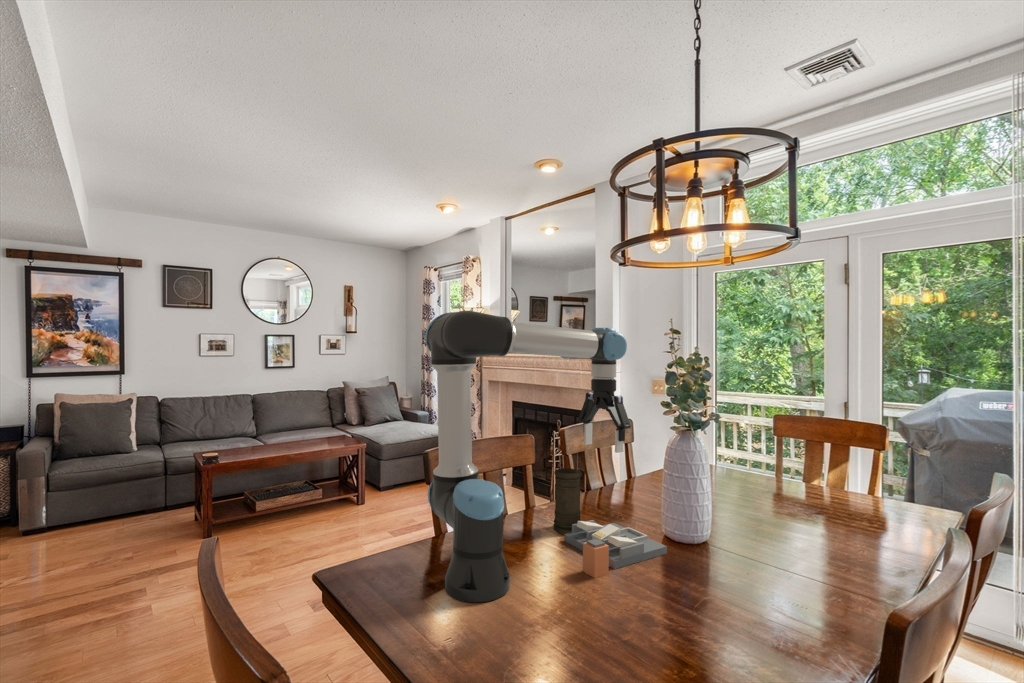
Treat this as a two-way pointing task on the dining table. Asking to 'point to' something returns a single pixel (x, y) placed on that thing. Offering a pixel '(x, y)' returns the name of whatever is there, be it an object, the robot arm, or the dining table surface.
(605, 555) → the orange block
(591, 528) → the rocker far
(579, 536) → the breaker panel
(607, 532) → the plate
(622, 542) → the rocker near
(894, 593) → the dining table surface
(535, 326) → the robot arm
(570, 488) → the container
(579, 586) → the dining table surface
